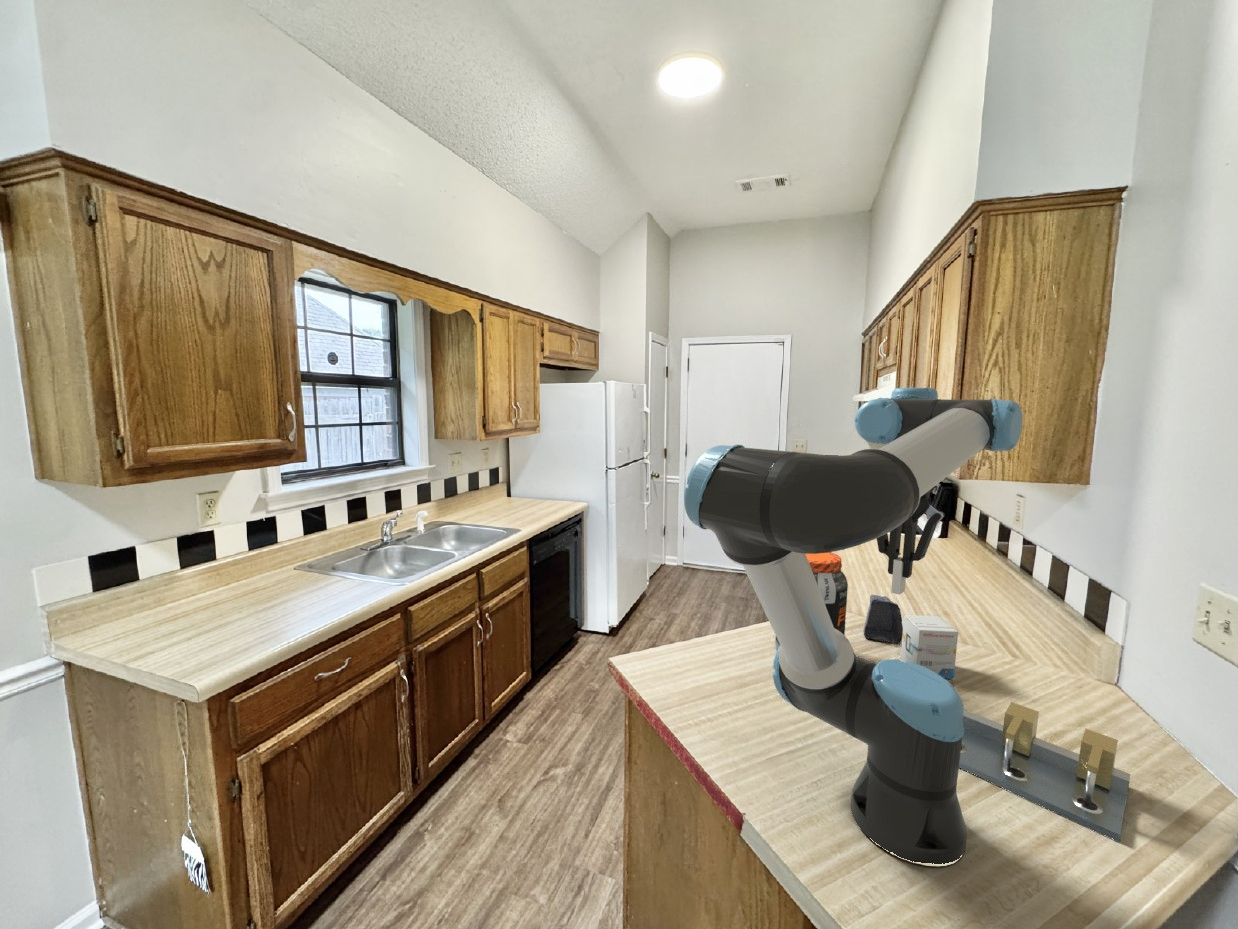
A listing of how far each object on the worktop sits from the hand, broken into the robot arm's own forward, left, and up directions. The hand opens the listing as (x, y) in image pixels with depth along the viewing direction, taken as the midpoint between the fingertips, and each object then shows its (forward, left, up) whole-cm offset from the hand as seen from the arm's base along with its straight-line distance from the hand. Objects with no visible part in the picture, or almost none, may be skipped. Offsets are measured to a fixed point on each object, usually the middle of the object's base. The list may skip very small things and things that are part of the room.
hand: (898, 591), depth 100 cm
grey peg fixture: (+2, -21, -26) cm, 34 cm away
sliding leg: (+4, -20, -25) cm, 32 cm away
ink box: (+27, +1, -27) cm, 38 cm away
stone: (+36, +16, -27) cm, 48 cm away
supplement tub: (+11, +23, -27) cm, 37 cm away
